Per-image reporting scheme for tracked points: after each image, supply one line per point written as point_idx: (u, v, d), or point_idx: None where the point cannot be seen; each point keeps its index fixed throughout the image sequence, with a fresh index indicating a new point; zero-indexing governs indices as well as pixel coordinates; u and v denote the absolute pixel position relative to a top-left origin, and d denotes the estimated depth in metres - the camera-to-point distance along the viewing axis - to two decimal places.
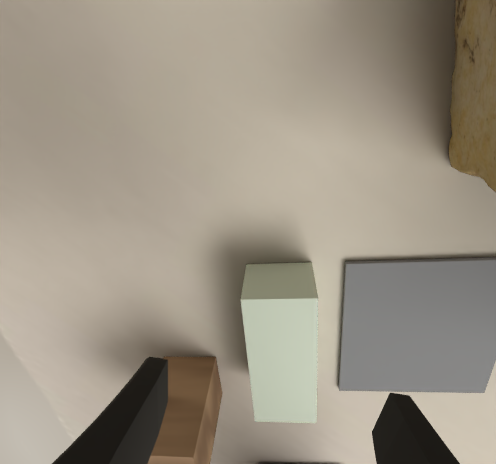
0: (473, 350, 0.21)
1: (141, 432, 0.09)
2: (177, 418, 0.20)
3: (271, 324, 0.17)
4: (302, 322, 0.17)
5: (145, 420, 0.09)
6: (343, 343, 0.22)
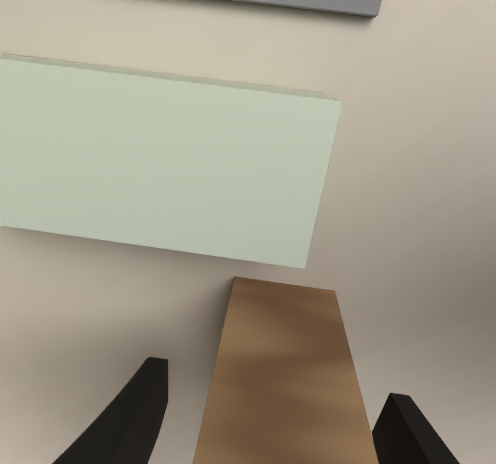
0: None
1: (141, 432, 0.09)
2: None
3: None
4: None
5: (145, 420, 0.09)
6: None
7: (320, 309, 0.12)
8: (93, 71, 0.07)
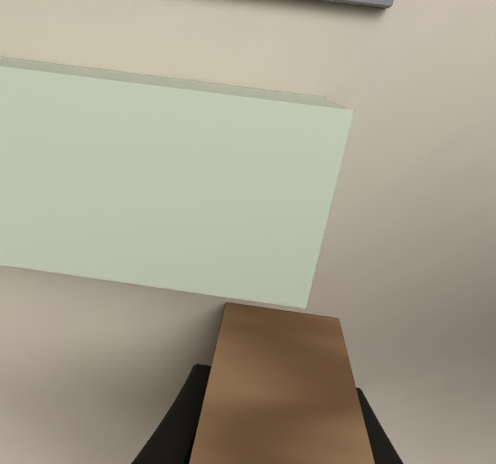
0: None
1: None
2: None
3: None
4: None
5: None
6: None
7: (323, 342, 0.10)
8: (39, 72, 0.05)
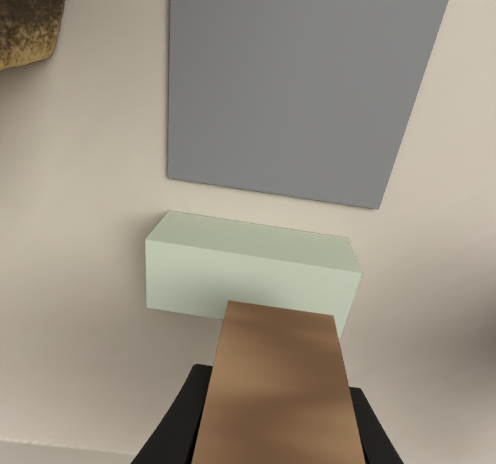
0: None
1: None
2: None
3: (179, 288, 0.16)
4: (178, 259, 0.15)
5: None
6: (287, 194, 0.16)
7: (318, 338, 0.11)
8: (250, 255, 0.15)
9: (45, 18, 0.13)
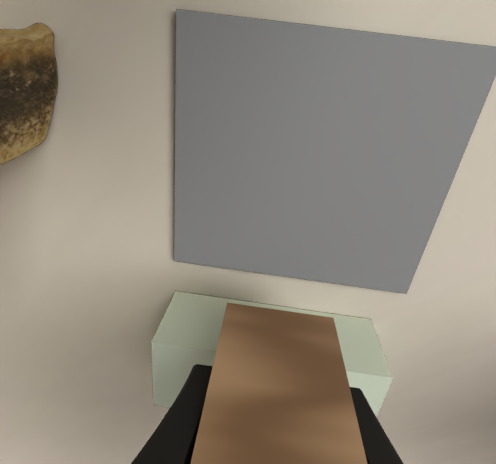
0: (369, 84, 0.11)
1: None
2: None
3: None
4: (188, 361, 0.14)
5: None
6: (305, 278, 0.15)
7: (318, 340, 0.11)
8: None
9: (35, 107, 0.12)
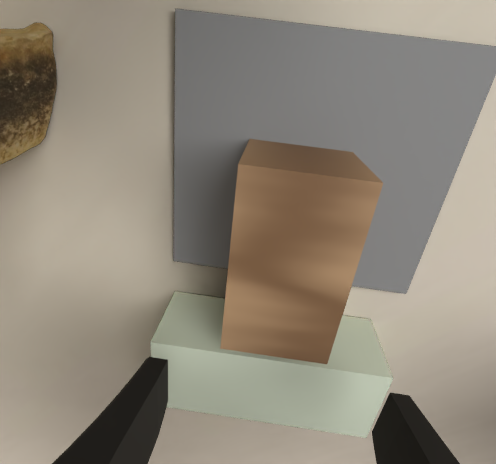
0: (368, 84, 0.11)
1: (141, 432, 0.09)
2: None
3: (189, 388, 0.14)
4: (188, 361, 0.14)
5: (145, 420, 0.09)
6: None
7: None
8: (267, 359, 0.13)
9: (34, 107, 0.12)
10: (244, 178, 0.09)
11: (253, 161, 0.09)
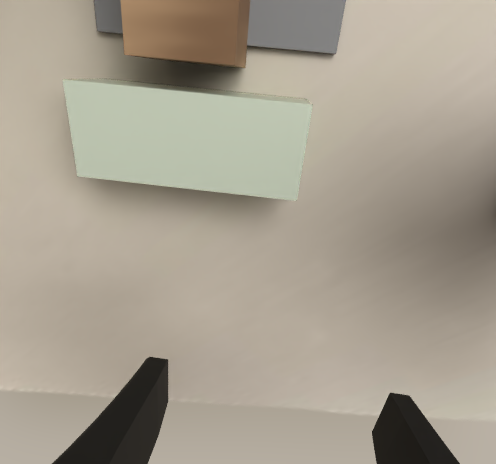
0: None
1: (141, 432, 0.09)
2: None
3: (110, 146, 0.14)
4: (103, 104, 0.13)
5: (145, 420, 0.09)
6: None
7: None
8: (182, 92, 0.13)
9: None
10: None
11: None
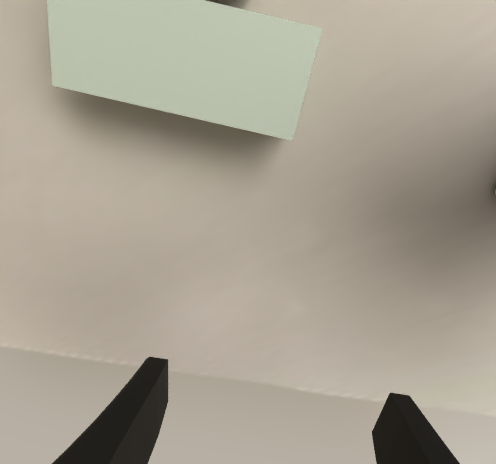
0: None
1: (141, 432, 0.09)
2: None
3: (92, 52, 0.12)
4: None
5: (145, 420, 0.09)
6: None
7: None
8: None
9: None
10: None
11: None
